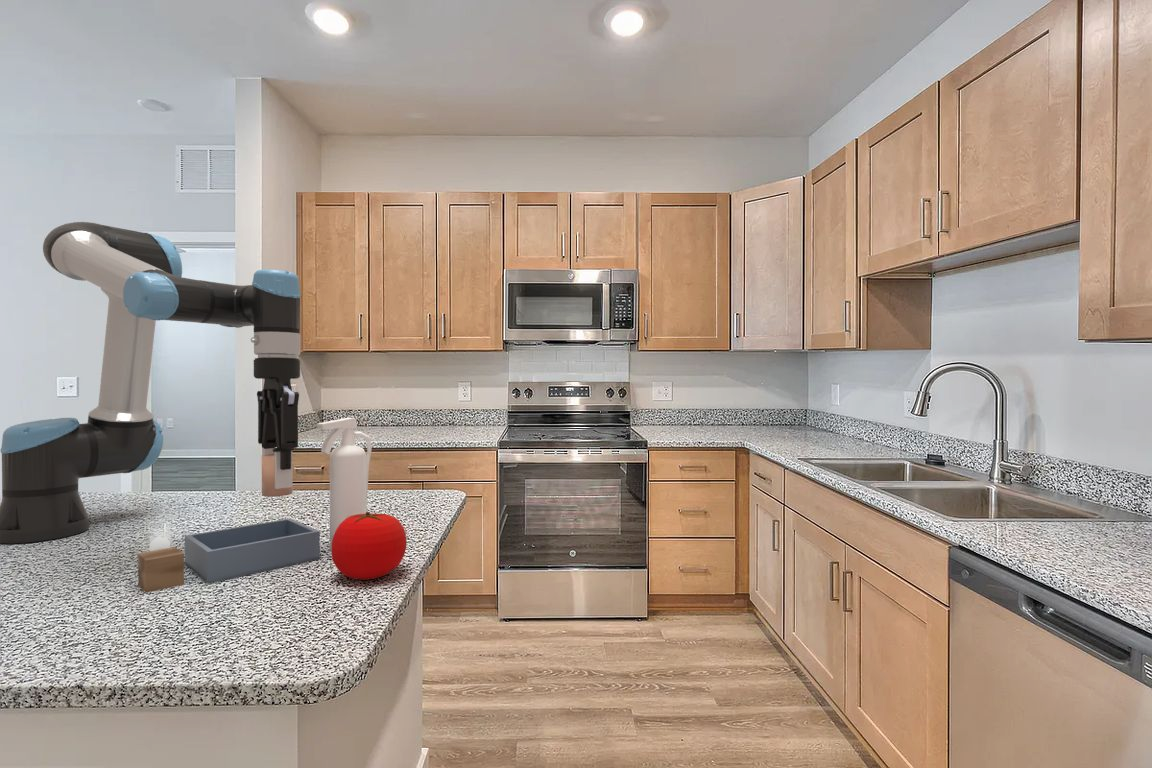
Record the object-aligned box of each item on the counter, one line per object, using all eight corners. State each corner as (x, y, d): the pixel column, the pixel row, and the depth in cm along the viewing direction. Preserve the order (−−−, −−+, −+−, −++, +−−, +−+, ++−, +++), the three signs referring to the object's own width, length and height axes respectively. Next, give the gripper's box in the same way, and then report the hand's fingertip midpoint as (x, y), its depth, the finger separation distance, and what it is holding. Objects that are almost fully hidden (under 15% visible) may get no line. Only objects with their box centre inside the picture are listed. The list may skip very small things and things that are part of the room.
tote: (184, 564, 103) (184, 535, 103) (289, 544, 116) (289, 518, 116) (207, 583, 94) (207, 551, 93) (319, 559, 106) (319, 531, 106)
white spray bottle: (391, 542, 116) (386, 415, 116) (334, 559, 107) (327, 421, 106) (371, 537, 121) (366, 414, 120) (314, 553, 111) (308, 420, 110)
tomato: (322, 572, 99) (322, 510, 99) (391, 559, 106) (391, 501, 106) (343, 593, 90) (344, 524, 90) (417, 577, 97) (417, 514, 97)
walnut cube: (138, 585, 93) (138, 553, 93) (175, 577, 97) (175, 546, 97) (145, 593, 90) (145, 560, 89) (183, 585, 93) (184, 553, 93)
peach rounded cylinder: (257, 494, 107) (257, 455, 107) (286, 490, 111) (286, 452, 111) (267, 497, 104) (267, 457, 104) (297, 493, 107) (296, 455, 107)
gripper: (237, 357, 111) (238, 482, 111) (273, 355, 98) (274, 495, 98) (280, 358, 116) (280, 477, 116) (319, 356, 104) (319, 489, 104)
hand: (277, 485), depth 107 cm, fingers closed on peach rounded cylinder, 5 cm apart
